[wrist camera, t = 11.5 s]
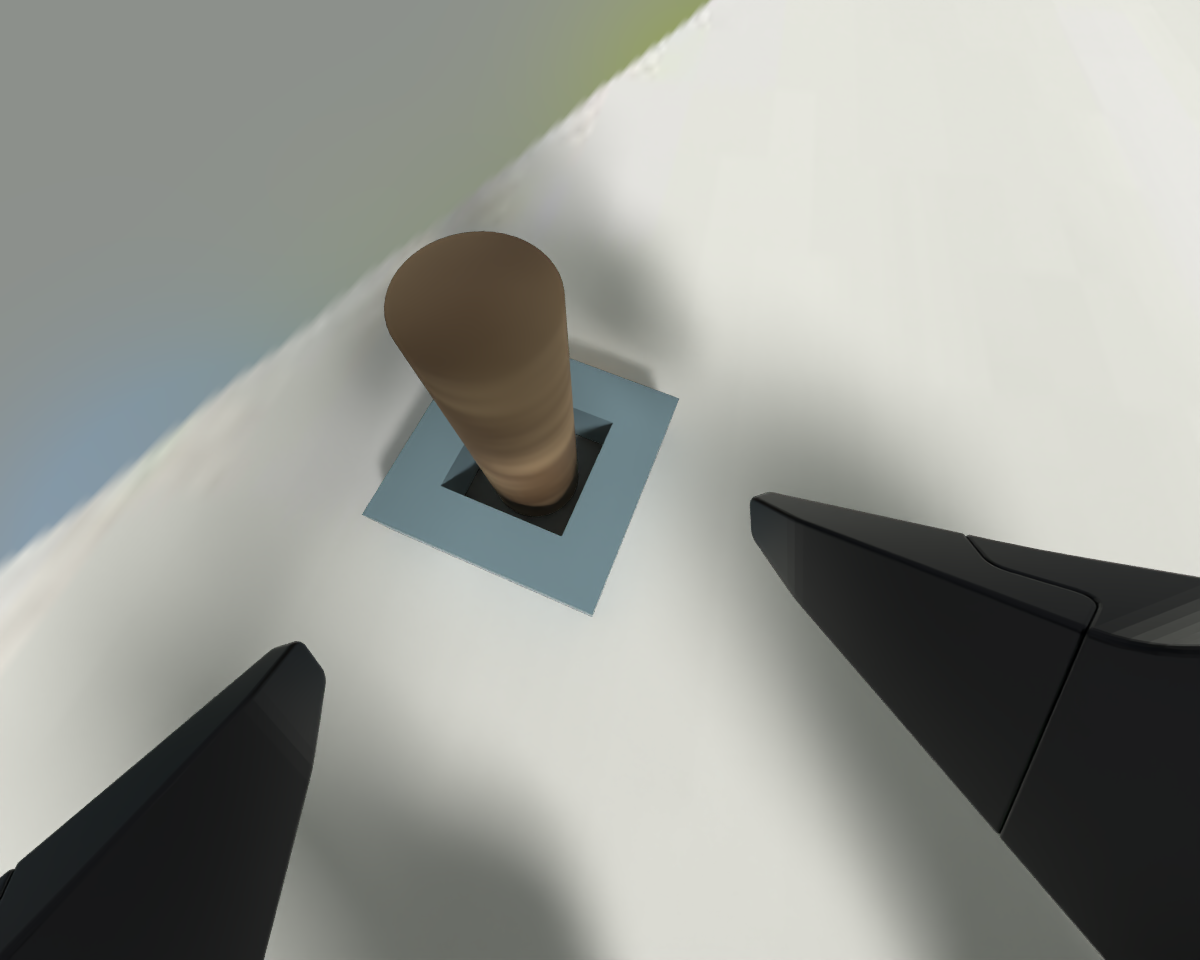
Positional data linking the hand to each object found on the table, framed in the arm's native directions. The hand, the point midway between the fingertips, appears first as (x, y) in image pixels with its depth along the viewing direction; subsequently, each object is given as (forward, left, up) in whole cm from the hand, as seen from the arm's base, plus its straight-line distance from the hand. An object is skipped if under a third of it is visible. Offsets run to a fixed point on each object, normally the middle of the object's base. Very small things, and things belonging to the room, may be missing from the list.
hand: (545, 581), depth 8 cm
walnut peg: (+4, -6, -13) cm, 15 cm away
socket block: (+4, -6, -13) cm, 15 cm away
